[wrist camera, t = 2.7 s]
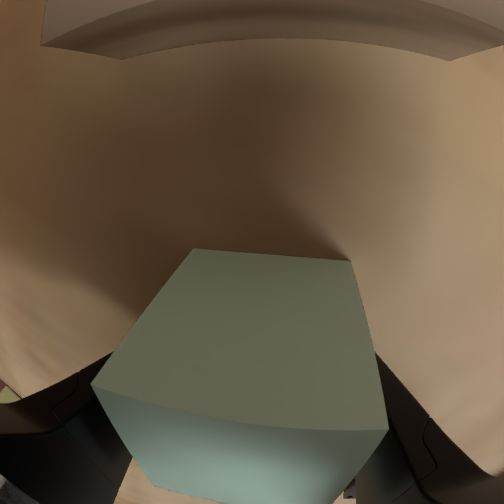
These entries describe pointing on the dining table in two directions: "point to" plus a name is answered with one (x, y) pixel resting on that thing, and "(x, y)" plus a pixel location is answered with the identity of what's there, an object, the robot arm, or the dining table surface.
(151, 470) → the green block
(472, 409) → the dining table surface
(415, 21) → the walnut base
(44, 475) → the robot arm
